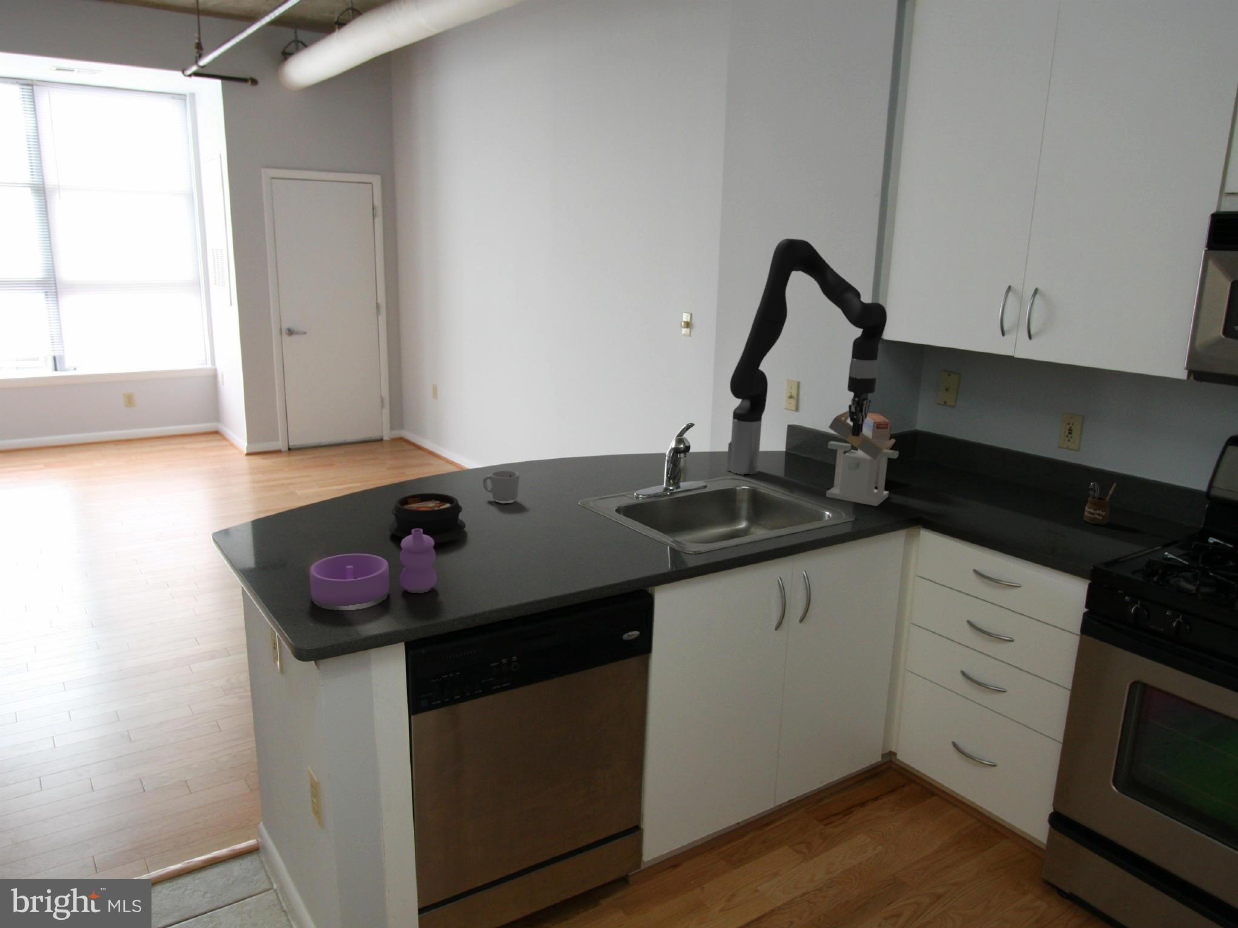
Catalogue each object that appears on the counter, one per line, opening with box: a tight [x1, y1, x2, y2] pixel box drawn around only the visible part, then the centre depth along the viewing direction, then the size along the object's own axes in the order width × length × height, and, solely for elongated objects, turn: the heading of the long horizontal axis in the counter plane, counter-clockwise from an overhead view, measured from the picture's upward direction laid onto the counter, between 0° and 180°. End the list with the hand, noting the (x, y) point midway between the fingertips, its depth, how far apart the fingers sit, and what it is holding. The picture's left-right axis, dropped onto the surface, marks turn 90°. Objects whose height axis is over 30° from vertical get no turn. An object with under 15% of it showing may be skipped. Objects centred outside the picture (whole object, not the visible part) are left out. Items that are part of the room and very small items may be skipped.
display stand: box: [825, 441, 900, 507], centre depth 261 cm, size 20×15×15 cm
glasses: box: [828, 409, 896, 460], centre depth 259 cm, size 16×14×4 cm
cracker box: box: [857, 412, 892, 488], centre depth 279 cm, size 14×6×21 cm, turn 179°
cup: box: [482, 470, 520, 501], centre depth 248 cm, size 11×8×8 cm
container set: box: [309, 529, 438, 606], centre depth 182 cm, size 25×15×13 cm, turn 108°
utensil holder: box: [1083, 482, 1117, 524], centre depth 246 cm, size 6×6×12 cm
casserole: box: [388, 492, 467, 544], centre depth 220 cm, size 25×19×8 cm
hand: (856, 435), depth 254 cm, fingers closed on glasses, 1 cm apart
